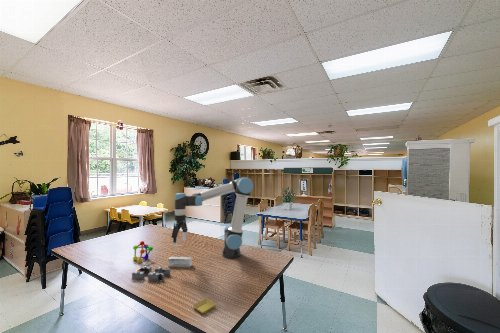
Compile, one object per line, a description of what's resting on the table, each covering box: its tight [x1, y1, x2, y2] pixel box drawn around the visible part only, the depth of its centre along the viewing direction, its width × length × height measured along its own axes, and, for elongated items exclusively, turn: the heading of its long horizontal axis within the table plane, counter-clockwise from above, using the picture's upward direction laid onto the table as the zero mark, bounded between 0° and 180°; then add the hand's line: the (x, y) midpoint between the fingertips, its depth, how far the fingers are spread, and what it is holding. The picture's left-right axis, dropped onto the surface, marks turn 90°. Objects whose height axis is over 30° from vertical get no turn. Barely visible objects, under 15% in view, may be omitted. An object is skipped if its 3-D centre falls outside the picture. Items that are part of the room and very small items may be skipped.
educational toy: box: [132, 240, 154, 264], centre depth 170 cm, size 16×13×15 cm
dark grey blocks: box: [131, 265, 171, 282], centre depth 143 cm, size 21×10×5 cm, turn 81°
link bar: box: [167, 256, 193, 268], centre depth 159 cm, size 16×4×6 cm, turn 87°
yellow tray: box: [192, 297, 217, 315], centre depth 110 cm, size 9×9×2 cm
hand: (179, 243), depth 159 cm, fingers open, 13 cm apart
